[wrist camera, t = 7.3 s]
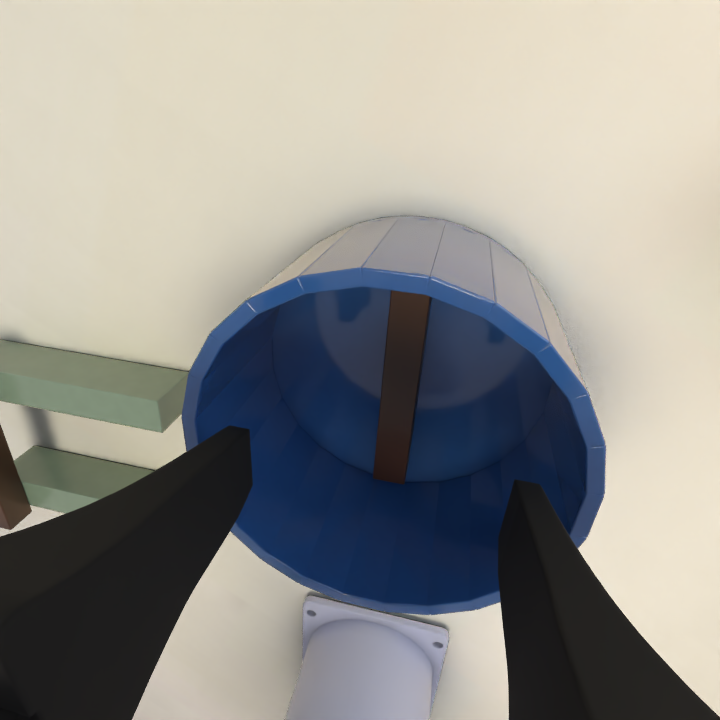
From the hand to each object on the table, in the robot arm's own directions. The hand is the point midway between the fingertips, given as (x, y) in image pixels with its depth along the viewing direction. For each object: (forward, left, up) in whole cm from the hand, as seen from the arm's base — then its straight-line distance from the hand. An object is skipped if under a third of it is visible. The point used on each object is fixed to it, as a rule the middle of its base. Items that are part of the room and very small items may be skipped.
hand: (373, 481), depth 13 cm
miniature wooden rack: (-6, +14, -7) cm, 17 cm away
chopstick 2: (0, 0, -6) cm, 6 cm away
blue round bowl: (0, 0, -7) cm, 7 cm away
